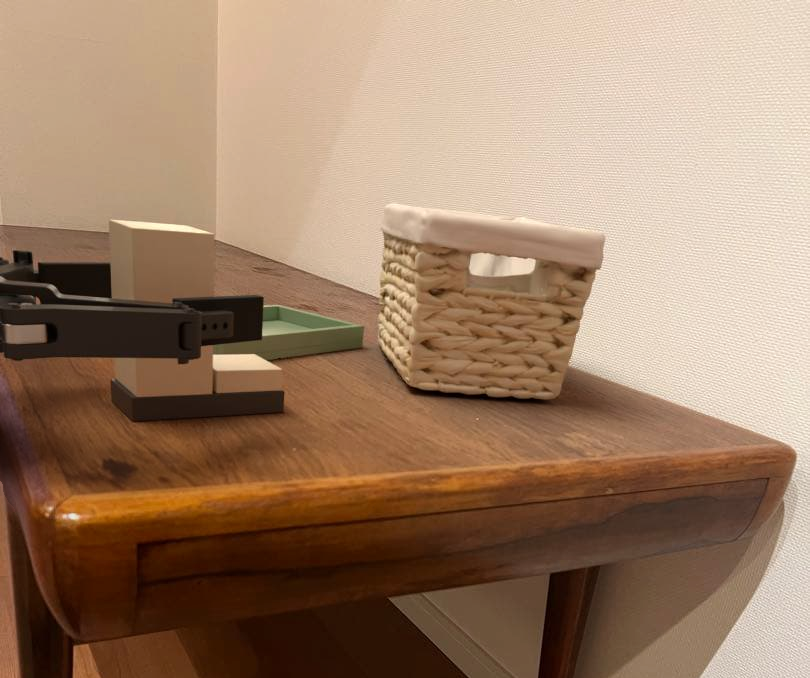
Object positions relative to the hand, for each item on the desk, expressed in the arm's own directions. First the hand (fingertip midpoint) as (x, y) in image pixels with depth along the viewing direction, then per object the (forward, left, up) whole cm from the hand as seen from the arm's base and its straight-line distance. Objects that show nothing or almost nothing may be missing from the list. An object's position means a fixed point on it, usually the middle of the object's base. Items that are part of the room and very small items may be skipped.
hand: (188, 299), depth 53 cm
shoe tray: (-14, +20, -7) cm, 26 cm away
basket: (+4, +31, -8) cm, 32 cm away
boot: (+1, 0, -7) cm, 7 cm away
